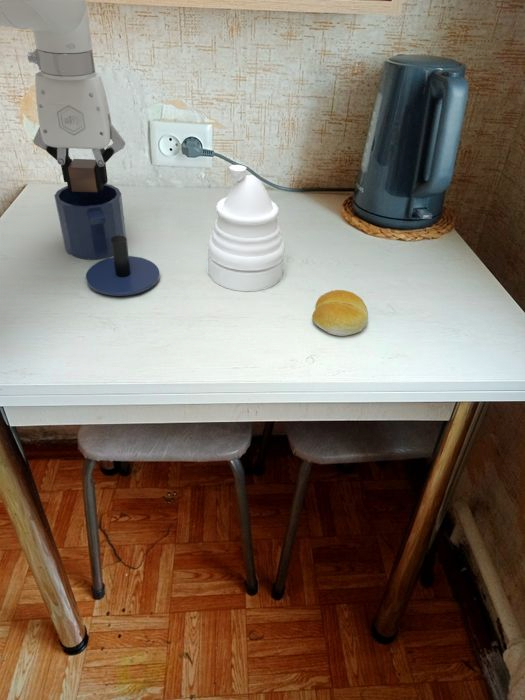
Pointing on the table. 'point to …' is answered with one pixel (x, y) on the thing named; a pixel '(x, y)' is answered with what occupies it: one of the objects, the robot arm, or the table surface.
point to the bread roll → (340, 313)
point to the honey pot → (246, 237)
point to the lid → (122, 272)
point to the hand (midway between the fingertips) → (86, 185)
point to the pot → (90, 221)
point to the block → (83, 175)
